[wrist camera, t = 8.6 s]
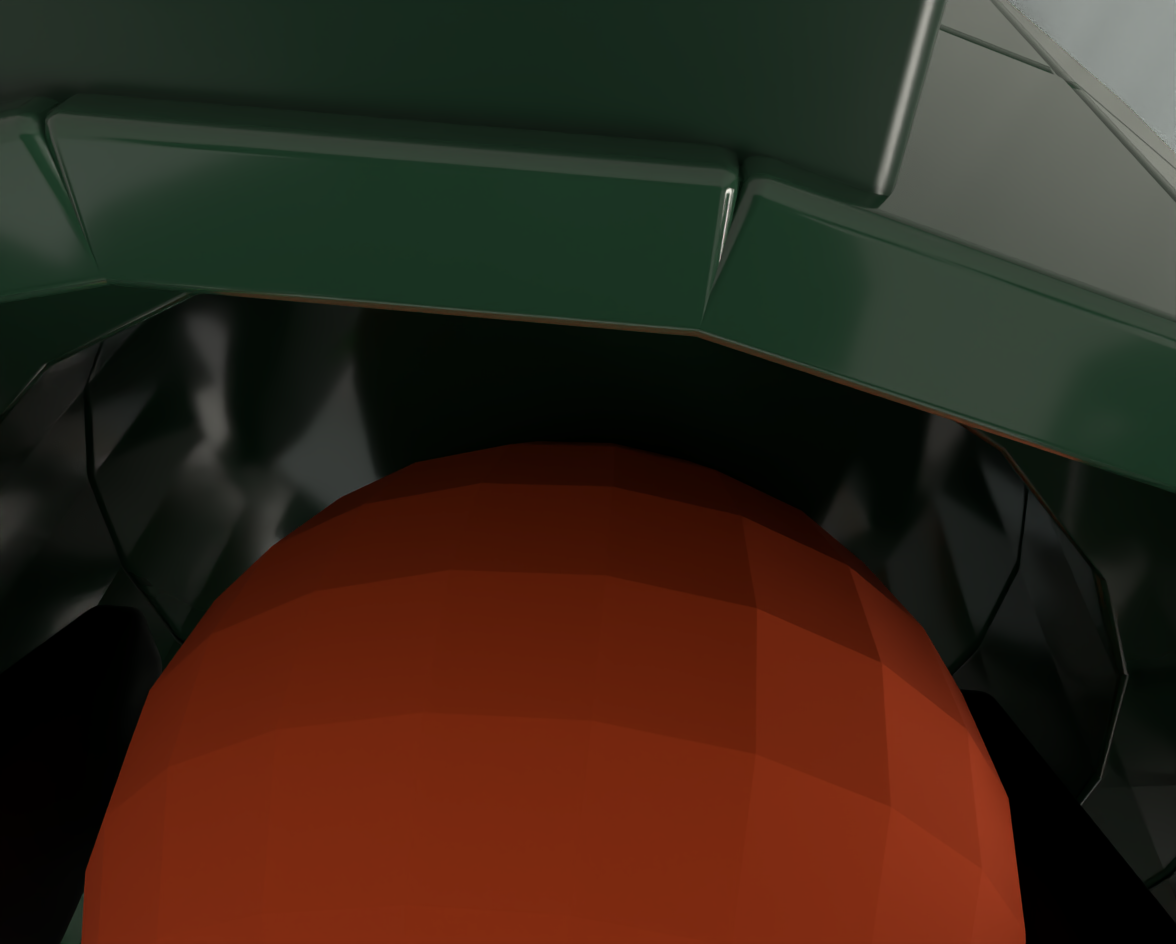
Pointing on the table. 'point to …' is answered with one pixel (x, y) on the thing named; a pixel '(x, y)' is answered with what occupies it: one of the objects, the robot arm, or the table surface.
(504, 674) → the clementine
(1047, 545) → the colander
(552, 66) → the colander handles
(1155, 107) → the table surface
